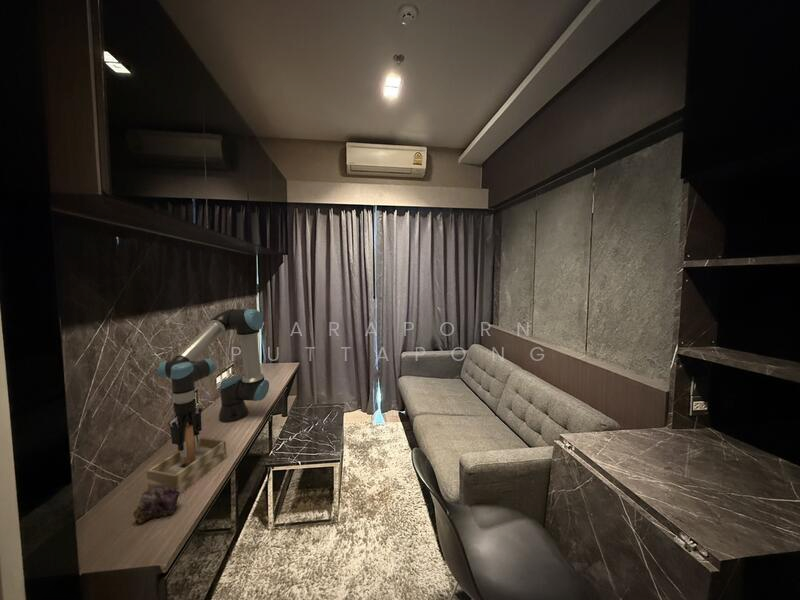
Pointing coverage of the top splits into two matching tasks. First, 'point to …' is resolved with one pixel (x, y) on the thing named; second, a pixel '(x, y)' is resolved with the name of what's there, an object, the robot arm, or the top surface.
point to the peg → (189, 444)
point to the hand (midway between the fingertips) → (189, 453)
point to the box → (187, 465)
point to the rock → (156, 502)
